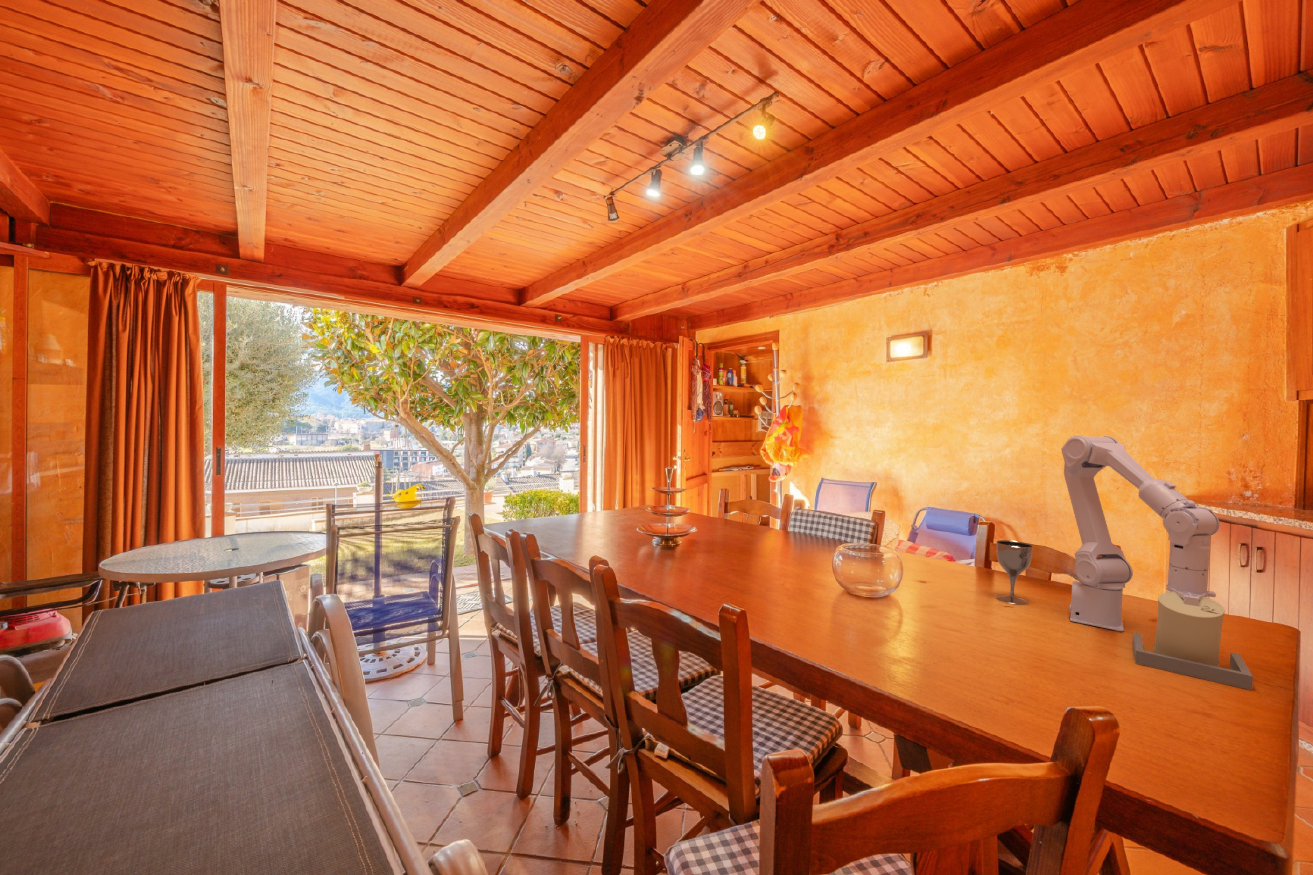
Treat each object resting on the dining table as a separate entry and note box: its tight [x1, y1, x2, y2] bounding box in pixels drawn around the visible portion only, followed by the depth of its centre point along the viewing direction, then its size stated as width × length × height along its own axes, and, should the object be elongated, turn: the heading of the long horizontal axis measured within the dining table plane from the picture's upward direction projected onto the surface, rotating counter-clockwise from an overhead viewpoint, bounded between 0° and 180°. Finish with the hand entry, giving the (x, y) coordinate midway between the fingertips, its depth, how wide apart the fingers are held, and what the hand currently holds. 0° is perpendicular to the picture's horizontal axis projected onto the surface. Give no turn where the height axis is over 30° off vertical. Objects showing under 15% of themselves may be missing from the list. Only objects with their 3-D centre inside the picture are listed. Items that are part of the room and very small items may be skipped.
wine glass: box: [995, 539, 1034, 606], centre depth 141 cm, size 8×8×15 cm
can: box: [1153, 591, 1226, 667], centre depth 104 cm, size 9×9×12 cm
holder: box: [1132, 632, 1254, 691], centre depth 104 cm, size 15×12×2 cm
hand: (1184, 633), depth 109 cm, fingers closed
